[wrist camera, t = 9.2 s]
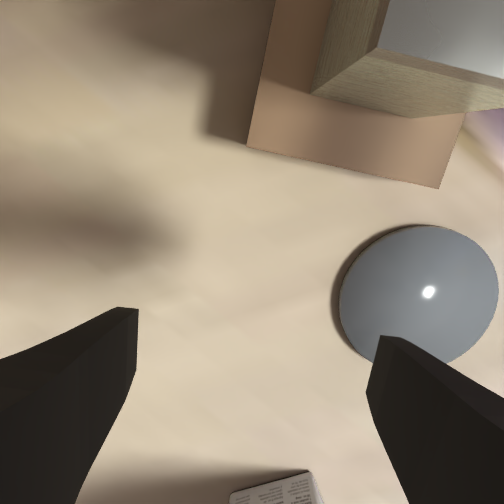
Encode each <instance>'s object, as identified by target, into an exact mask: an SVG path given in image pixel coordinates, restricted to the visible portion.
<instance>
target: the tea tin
mask: <svg viewBox="0 0 504 504" xmlns="http://www.w3.org/2000/svg"><path fill="white" fill-rule="evenodd" d="M310 95H314V96H319V97H323V98H327V99H331V100H336V101H340V102H344V103H348V104H352V105H357V106H361V107H365V108H369V109H374V110H378V111H382V112H386V113H391V114H395V115H399V116H403V117H408V118H412V119H413V118H422V117H430V116H439V115H448V114H456V113H465V112H473V111H482V110H491V109H499V108H504V0H332V4H331V8H330V12H329V16H328V20H327V24H326V29H325V33H324V37H323V41H322V45H321V49H320V54H319V58H318V62H317V66H316V70H315V74H314V78H313V83H312V87H311V91H310Z"/></svg>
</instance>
